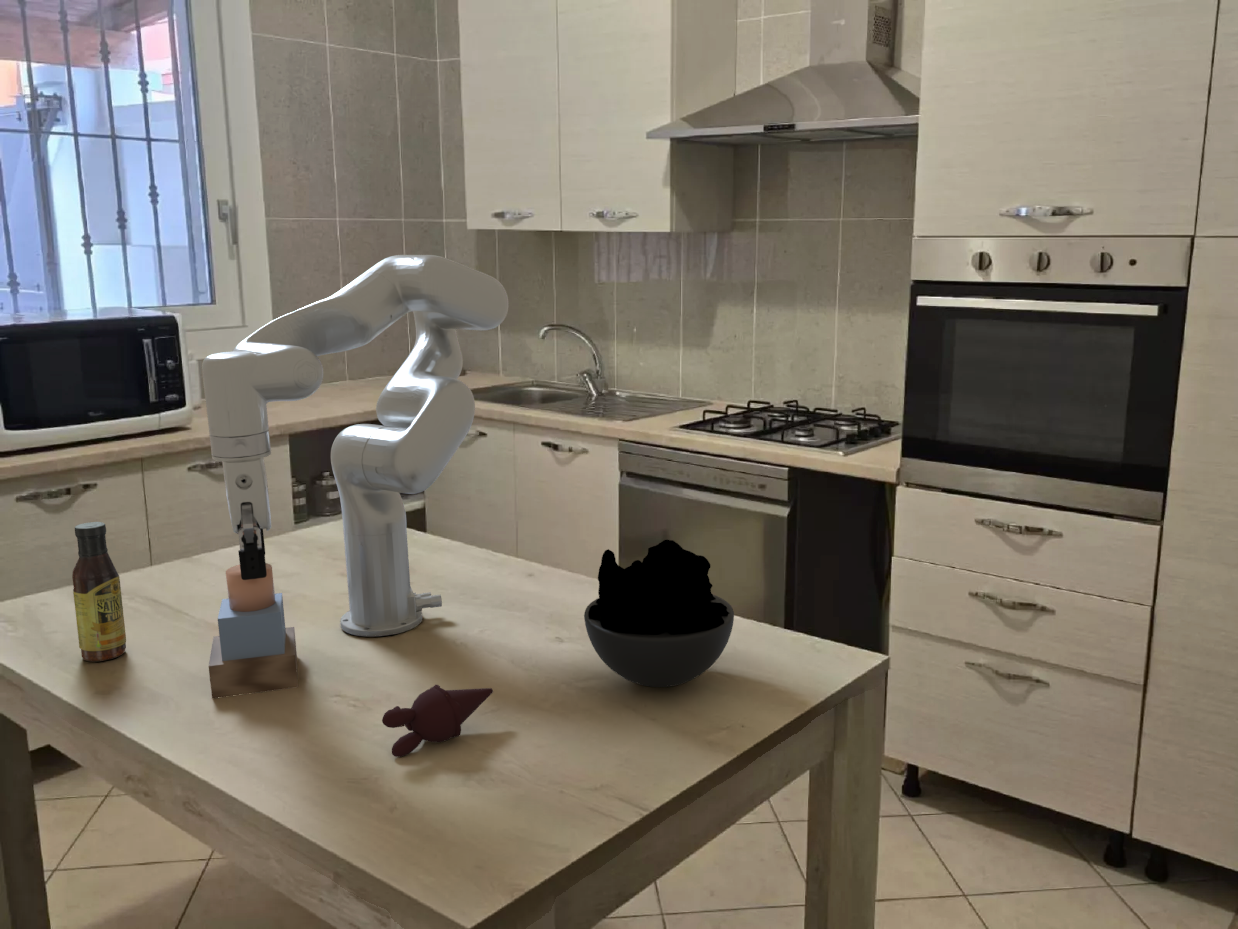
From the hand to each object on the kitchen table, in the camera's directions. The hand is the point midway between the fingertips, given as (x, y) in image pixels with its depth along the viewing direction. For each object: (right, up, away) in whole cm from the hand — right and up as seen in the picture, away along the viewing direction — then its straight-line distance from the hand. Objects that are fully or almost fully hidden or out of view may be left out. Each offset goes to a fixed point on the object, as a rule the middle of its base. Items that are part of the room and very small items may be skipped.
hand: (254, 567), depth 148 cm
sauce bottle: (-26, -14, +11) cm, 32 cm away
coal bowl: (+56, -15, -1) cm, 58 cm away
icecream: (+28, -19, -16) cm, 38 cm away
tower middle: (0, -11, +1) cm, 11 cm away
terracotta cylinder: (0, -5, +1) cm, 5 cm away
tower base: (-1, -16, +3) cm, 16 cm away
